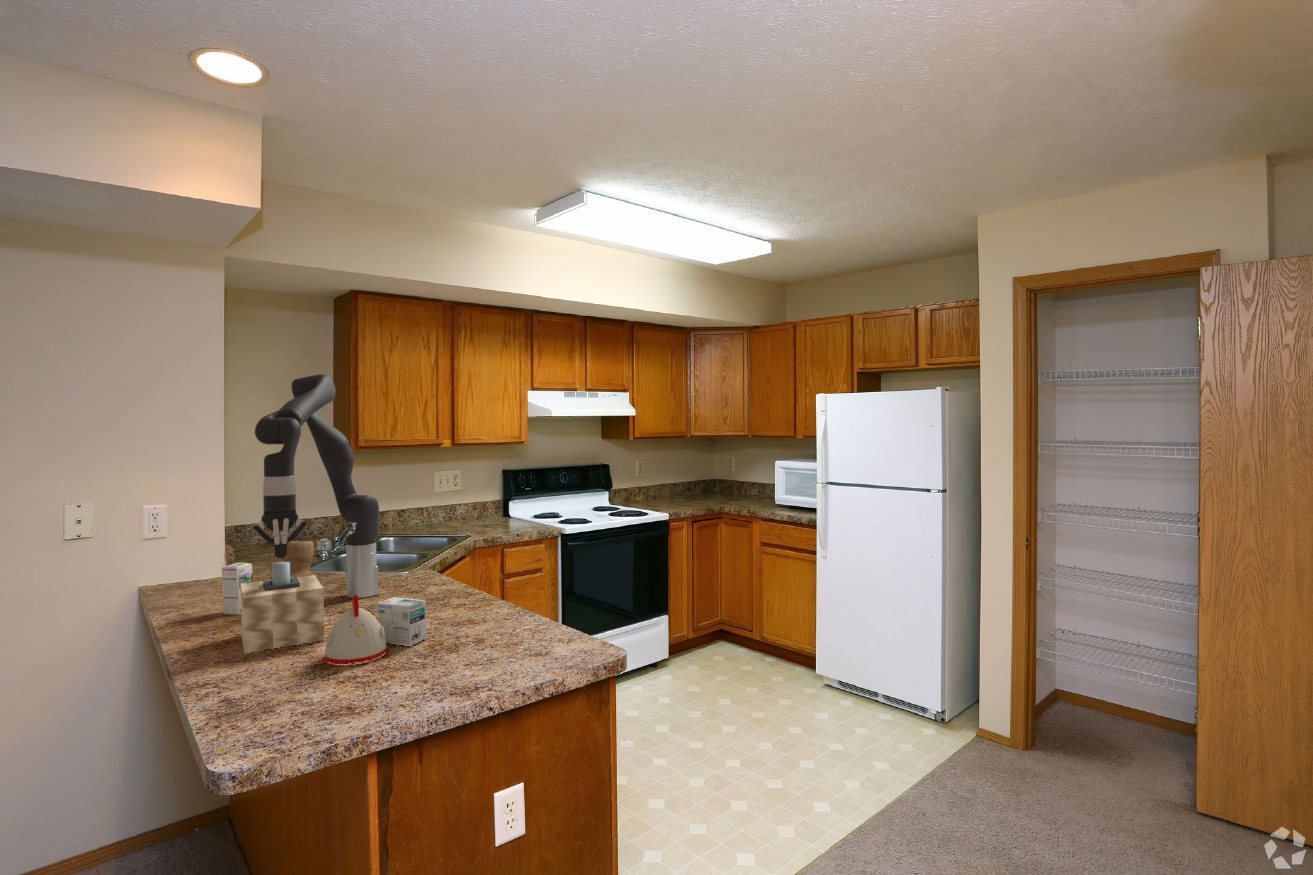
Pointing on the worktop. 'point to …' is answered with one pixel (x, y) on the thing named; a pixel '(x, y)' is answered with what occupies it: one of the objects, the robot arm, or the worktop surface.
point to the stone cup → (299, 558)
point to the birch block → (281, 615)
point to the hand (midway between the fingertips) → (280, 557)
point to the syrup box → (234, 585)
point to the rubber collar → (292, 584)
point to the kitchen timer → (355, 637)
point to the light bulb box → (403, 620)
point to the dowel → (280, 573)
